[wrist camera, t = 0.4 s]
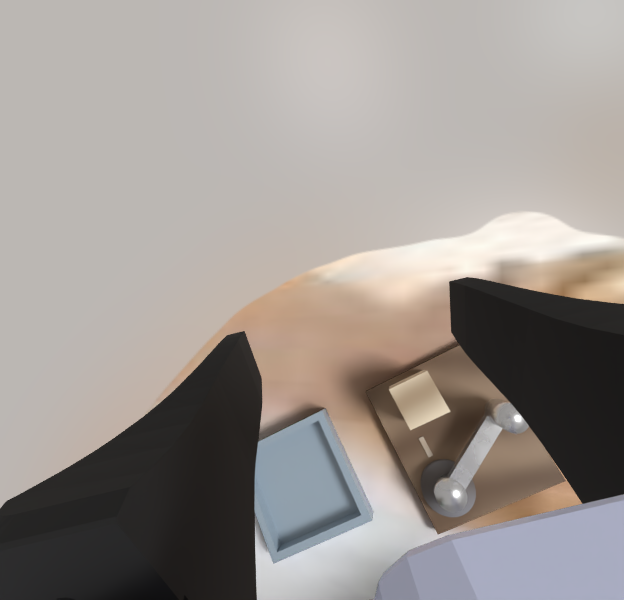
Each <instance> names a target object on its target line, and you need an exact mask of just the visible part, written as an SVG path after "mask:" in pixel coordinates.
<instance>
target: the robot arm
mask: <svg viewBox="0 0 624 600" xmlns="http://www.w3.org/2000/svg"><path fill="white" fill-rule="evenodd" d="M449 286H450V311H451V332H452V334H453V335H454V337H455V339H456V340H457V342H458V343H459V345H460V346H461V348H462V349H463V350H464V352H465V353H466V355H467V356H468V357H469V358H470V359H471V360H472V361H473V363H474V364H475V365H476V366H477V367H478V368H479V369H480V370H481V371H482V372H483V374H484V375H485V376H486V377H487V378H488V379H489V380H490V381H491V382H492V383H493V384H494V385H495V387H496V388H497V389H498V390H499V391H500V392H501V393H502V394H503V395H504V396H505V397H506V399H507V400H508V401H509V402H510V403H511V404H512V405H513V406H514V408H515V409H516V410H517V411H518V412H519V414H520V415H521V416H522V417H523V419H524V420H525V421H526V423H527V424H528V426H529V427H530V428H531V430H532V431H533V432H534V434H535V435H536V436H537V438H538V439H539V440H540V442H541V443H542V445H543V446H544V447H545V449H546V450H547V452H548V453H549V455H550V456H551V457H552V459H553V460H554V462H555V463H556V465H557V466H558V467H559V469H560V470H561V472H562V473H563V475H564V476H565V478H566V479H567V481H568V482H569V484H570V485H571V487H572V488H573V490H574V491H575V493H576V494H577V496H578V497H579V499H580V500H581V502H582V503H583V504H580V505H576V506H572V507H567V508H563V509H559V510H554V511H550V512H546V513H542V514H537V515H533V516H529V517H524V518H520V519H516V520H512V521H507V522H503V523H499V524H494V525H490V526H486V527H482V528H477V529H473V530H469V531H464V532H460V533H456V534H452V535H447V536H445V537H442V538H440V539H437V540H435V541H432V542H430V543H427V544H424V545H422V546H419V547H417V548H414V549H412V550H409V551H408V552H407V553H406V554H404V555H403V556H402V557H401V558H400V559H399V560H398V561H396V562H395V563H394V564H393V565H392V566H391V567H390V568H388V569H387V570H386V571H385V572H384V573H383V575H382V577H381V579H380V581H379V582H378V587H377V591H376V595H375V599H371V600H624V304H617V303H608V302H599V301H591V300H583V299H576V298H570V297H564V296H558V295H553V294H547V293H542V292H537V291H532V290H528V289H523V288H519V287H514V286H510V285H505V284H501V283H496V282H492V281H487V280H482V279H477V278H468V277H466V278H462V279H458V280H454V281H450V282H449ZM261 411H262V379H261V375H260V372H259V370H258V367H257V364H256V361H255V359H254V356H253V353H252V351H251V348H250V345H249V342H248V340H247V337H246V334H245V331H243V332H239V333H235V334H231V335H227V336H226V337H225V338H224V339H223V340H222V341H221V342H220V343H219V344H218V345H217V346H216V347H215V348H214V349H213V351H212V352H211V353H210V354H209V355H208V356H207V357H206V358H205V359H204V360H203V362H202V363H201V364H200V365H199V366H198V367H197V368H196V369H195V370H194V371H193V372H192V373H191V374H190V375H189V376H188V377H187V378H186V379H185V380H184V381H183V382H182V383H181V384H180V385H179V386H178V387H177V388H176V389H175V390H174V391H173V392H172V393H171V394H170V395H169V396H168V397H166V398H165V399H164V400H163V401H162V402H161V403H160V404H158V405H157V406H156V407H155V408H154V409H152V410H151V411H150V412H149V413H147V414H146V415H145V416H144V417H142V418H141V419H140V420H138V421H137V422H136V423H134V424H133V425H131V426H130V427H129V428H127V429H126V430H125V431H123V432H122V433H121V434H119V435H118V436H116V437H115V438H114V439H112V440H111V441H109V442H108V443H106V444H105V445H103V446H102V447H100V448H99V449H97V450H95V451H94V452H93V453H91V454H89V455H88V456H86V457H84V458H83V459H81V460H79V461H78V462H76V463H75V464H73V465H71V466H70V467H68V468H66V469H64V470H63V471H61V472H59V473H57V474H56V475H54V476H52V477H51V478H48V479H47V480H45V481H43V482H41V483H39V484H38V485H36V486H34V487H32V488H30V489H29V490H27V491H25V492H23V493H21V494H20V495H18V496H16V497H14V498H12V499H10V500H8V501H7V502H5V504H4V505H3V506H2V507H1V508H0V600H257V595H256V565H255V466H256V456H257V447H258V438H259V429H260V420H261Z"/></svg>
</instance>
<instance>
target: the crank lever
mask: <svg viewBox="0 0 624 600" xmlns="http://www.w3.org/2000/svg"><path fill="white" fill-rule="evenodd" d="M484 413H485V414H484V416H483V418H482V419H481V421H480V423H479V424H478V426H477V427H476V429H475V431H474V432H473V434H472V436H471V437H470V439H469V441H468V442H467V444H466V445H465V447H464V449H463V450H462V452H461V454H460V455H459V457H458V458H457V460H456V462H455V463H454V465H453V467H452V468H451V470H450V472H449V473H448V475H442V476H439V477H438V478H437V479H436V480H435V482H434V486H433V490H434V494H435V497H436V500H437V502H438V504H439V505H440V506H441V507H442V508H443V509H445V510H446V511H449V512H458V511H461V510H462V509H463V508H464V507H465V506H466V503H467V493H466V490H465V489H466V488H467V486H468V485H469V483H470V481H471V480H472V478H473V476H474V475H475V473H476V471H477V470H478V468H479V466H480V465H481V463H482V462H483V460H484V458H485V457H486V455H487V453H488V452H489V450H490V448H491V447H492V445H493V444H494V442H495V440H496V439H497V437H498V435H499V434H500V432H501V430H502V429H504V430H506V431H508V432H510V433H514V434H519V433H522V432H524V431H526V430H527V428H528V427H529V426H528V424H527V423H526V421H525V420H524V419H523V417H522V416H521V415H520V414H519V412H518V411H517V410H516V409H515V408H514V406H513V405H512V404H511V403H510V402H507V401H504V400H501V399H491V400H489V401H488V402H487V403H486V405H485V407H484Z"/></svg>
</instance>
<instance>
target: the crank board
mask: <svg viewBox="0 0 624 600" xmlns="http://www.w3.org/2000/svg"><path fill="white" fill-rule="evenodd" d="M422 370H425V371H428V373H429V375H430V376H431V378H432V380H433V382H434V383H435V385H436V387H437V389H438V390H439V392H440V394H441V396H442V397H443V399H444V401H445V403H446V404H447V406H448V408H449V410H450V411H451V412H449V413H447V414H444V415H442V416H440V417H438V418H436V419H434V420H432V421H429V422H427V423H425V424H423V425H421V426H419V427H417V428H415V429H412V430H410V429H409V427H408V425H407V423H406V421H405V419H404V417H403V415H402V414H401V412H400V410H399V408H398V406H397V404H396V402H395V400H394V398H393V397H392V395H391V393H390V391H389V386H391V385H393V384H395V383H397V382H399V381H401V380H403V379H405V378H407V377H409V376H411V375H414V374H416V373H418V372H420V371H422ZM366 393H367V395H368V397H369V399H370V401H371V403H372V405H373V407H374V409H375V411H376V413H377V415H378V417H379V419H380V421H381V423H382V425H383V427H384V429H385V431H386V433H387V435H388V437H389V439H390V441H391V443H392V445H393V447H394V449H395V450H396V452H397V454H398V456H399V458H400V460H401V462H402V464H403V466H404V468H405V470H406V472H407V474H408V476H409V478H410V480H411V482H412V484H413V486H414V488H415V490H416V492H417V494H418V496H419V498H420V500H421V502H422V504H423V506H424V508H425V510H426V512H427V514H428V516H429V518H430V520H431V522H432V524H433V526H434V528H435V529H436V531H437V533H438V534H440V533H443V532H445V531H448V530H450V529H452V528H455V527H457V526H459V525H462V524H464V523H467V522H469V521H471V520H474V519H476V518H478V517H481V516H483V515H486V514H488V513H490V512H493V511H495V510H497V509H500V508H502V507H505V506H507V505H509V504H512V503H514V502H517V501H519V500H521V499H524V498H526V497H528V496H531V495H533V494H536V493H538V492H540V491H543V490H545V489H547V488H550V487H552V486H555V485H557V484H559V483H562V482H564V481H565V479H564V477H563V476H562V474H561V473H560V471H559V470H558V468H557V466H556V465H555V463H554V462H553V460H552V459H551V457H550V456H549V454H548V452H547V451H546V449H545V448H544V446H543V445H542V443H541V442H540V440H539V439H538V438H537V436H536V435H535V434H534V432H533V431H532V430H531V428H530V427H528V428H527V430H526V431H524V432H522V433H519V434H514V433H510V432H508V431H506V430H504V429H502V430H501V432H500V434H499V435H498V437H497V439H496V440H495V442H494V444H493V445H492V447H491V448H490V450H489V452H488V453H487V455H486V457H485V458H484V460H483V462H482V463H481V465H480V466H479V468H478V470H477V471H476V473H475V475H474V476H473V478H472V480H471V481H470V483H469V485H468V486H467V488H466V489H465V490H466V493H467V503H466V506H465V507H464V508H463V509H462V510H461V511H458V512H449V511H446V510H445V509H443V508H442V507H441V506H440V505H439V504H438V502H437V500H436V497H435V494H434V490H433V486H434V482H435V480H436V479H437V478H438V477H439V476H442V475H448V473H449V472H450V470H451V468H452V467H453V465H454V463H455V462H456V460H457V458H458V457H459V455H460V454H461V452H462V450H463V449H464V447H465V445H466V444H467V442H468V441H469V439H470V437H471V436H472V434H473V432H474V431H475V429H476V427H477V426H478V424H479V423H480V421H481V419H482V418H483V416H484V414H485V413H484V407H485V405H486V403H487V402H488V401H489V400H491V399H501V400H504V401H507V402H509V401H508V400H507V399H506V397H505V396H504V395H503V394H502V393H501V392H500V391H499V390H498V389H497V388H496V387H495V385H494V384H493V383H492V382H491V381H490V380H489V379H488V378H487V377H486V376H485V375H484V374H483V372H482V371H481V370H480V369H479V368H478V367H477V366H476V365H475V364H474V363H473V361H472V360H471V359H470V358H469V357H468V356H467V355H466V353H465V352H464V350H463V349H462V348H461V346H460V345H458V346H456V347H454V348H452V349H450V350H448V351H446V352H444V353H442V354H440V355H438V356H436V357H434V358H432V359H430V360H428V361H426V362H424V363H422V364H420V365H418V366H416V367H414V368H412V369H410V370H408V371H406V372H404V373H402V374H400V375H398V376H396V377H394V378H392V379H390V380H388V381H386V382H384V383H381V384H379V385H377V386H375V387H373V388H371V389H369V390H367V391H366Z"/></svg>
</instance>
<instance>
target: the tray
mask: <svg viewBox="0 0 624 600" xmlns="http://www.w3.org/2000/svg"><path fill="white" fill-rule="evenodd" d="M255 514H256V517H257V520H258V522H259V525H260V528H261V531H262V533H263V536H264V539H265V542H266V544H267V547H268V550H269V553H270V555H271V558H272V561H273V564H274V563H276V562H278V561H280V560H283V559H285V558H287V557H290V556H292V555H294V554H296V553H299V552H301V551H303V550H306V549H308V548H310V547H312V546H315V545H317V544H319V543H322V542H324V541H326V540H328V539H331V538H333V537H335V536H338V535H340V534H342V533H344V532H347V531H349V530H351V529H354V528H356V527H358V526H360V525H363V524H365V523H367V522H370V521H372V518H373V510H372V508H371V506H370V504H369V501H368V499H367V497H366V495H365V493H364V491H363V488H362V486H361V484H360V482H359V480H358V478H357V475H356V473H355V471H354V469H353V467H352V465H351V462H350V460H349V458H348V456H347V454H346V452H345V449H344V447H343V445H342V443H341V441H340V439H339V437H338V434H337V432H336V430H335V428H334V426H333V424H332V421H331V419H330V417H329V415H328V413H327V411H326V408H325V409H323V410H321V411H319V412H317V413H315V414H313V415H311V416H309V417H307V418H305V419H303V420H300V421H298V422H296V423H294V424H292V425H290V426H288V427H286V428H284V429H282V430H280V431H278V432H276V433H274V434H272V435H270V436H268V437H266V438H264V439H262V440H260V441H258V447H257V456H256V466H255Z"/></svg>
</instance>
